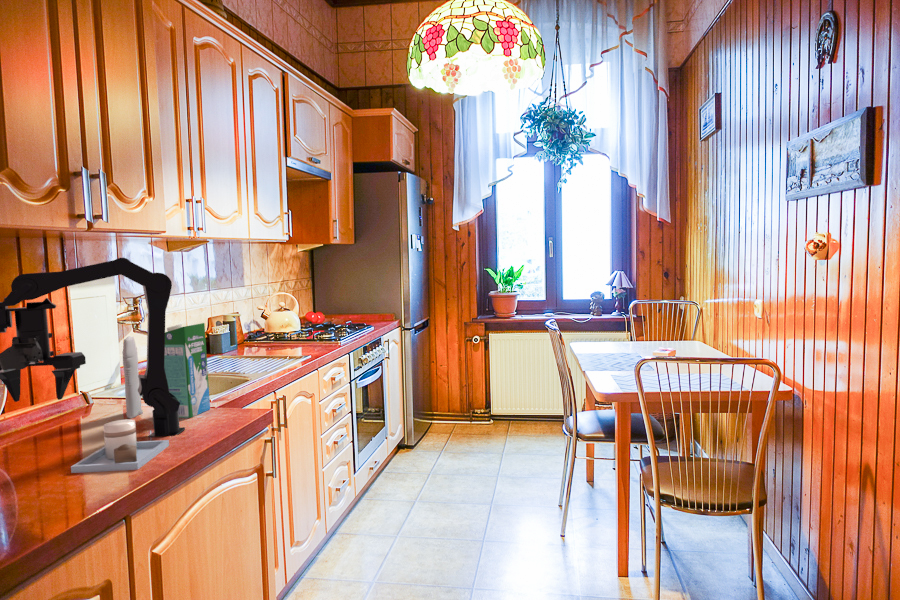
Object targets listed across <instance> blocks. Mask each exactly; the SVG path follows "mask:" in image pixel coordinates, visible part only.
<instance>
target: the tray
mask: <svg viewBox="0 0 900 600" xmlns="http://www.w3.org/2000/svg"><path fill="white" fill-rule="evenodd" d="M169 446H170V441H169V439H163V440H160V439H159V440H141V441H137V454H136V456H137V461H136V462H124V463H115V460H114V459H107V458H106V453H105V445H104V446H102V447H101V448H99V449H97V450H95V451H94V452H93V453H91V454H89V455H87V456H86V457H84V458H82V459H80V460H79V461H78V462H76V463H75V464H73V465H71V466H70V471H71V474H81V473H84V474H85V473H97V472H98V473H100V472H117V471H135V470H136V471H137V470H140V469H141V468H142V467H143V466H145V465H146V464H147V463H149V462H150V461H151V460H152V459H154V458H155V457H157V456H158V455H159V454H160V453H161V452H163V451H164V450H166V449H167V448H168V447H169Z"/></svg>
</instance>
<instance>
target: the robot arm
mask: <svg viewBox="0 0 900 600" xmlns="http://www.w3.org/2000/svg"><path fill="white" fill-rule="evenodd" d="M115 276H123V277H125V278H127V279H129V280H130V281H132V282H135V283H136V284H138V285H141V286H142V288H143V295H144V299H145V303H146V308H147V309H146V310H147V331H146V333H147V335H146V339H147V340H146V342H147V343H146V367H145V372H144V374H139V375H138V378H139V388H138V393H139V395H140V396H141V399H142V400H143V402H144V404H146V405H147V406H149V407H150V408H153V409H152V411H151V412H152V424H153V425H152V427H153V432H152V433H150V434H148V436H147V437H148V438H157V437H158V438H159V437H174V436H175V437H176V436H178V435H180V434H181V433H182V432H185V430H186V427H183V426H182V427H181V426H180V418H179V413H178V409H179V406H180V402H179V401H178V399H177V398H176V397H175V396H174V395H173V394H171V393H170V392H169V387H168V382H167V377H166V373H165V368H164V360H165V332H166V311H167V308H168V305H169V302H170V301H169V300H170V296H171V293H172V292H171V291H172V285H173V283H172V279H171V278H170V277H169V276H168V275H167V274H165V273H162V272H152V271H150V270H147V269H146V268H144V267H142V266H140V265H138V264H136V263H135V262H132V261H131V260H130V259H128V258H127V257H119V258H116V259H113V260H109V261H104V262H98V263H94V264H91V265H86V266H80V267H75V268H71V269H67V270H61V271H48V272H47V271H46V272H31V273H21V274H19V275H17V276H16V277H14V279H13V280H12V282H11V284H10V288H11V291H10V292H9V293H8V295H7V296H6V297H4V299H3V301H0V334H4V333H7V331H8V330H7V329H8V328H12V327H13V317H12V316H13V314H12V312H14V321H15V332H16V336H13V337H12V339H11V346H8V347H6V348H5V349H4V350H3V351H2V352H0V380H1V382H2V383H3V385H4V386H5V387H6V389H7V392H8V393H9V394H10V397H11V398H12V400H13V401H14V402H15V403H17V402H20V399H21V379H22V378H21V370H24V369H26V368H28V367H41V366H42V367H43V366H44V367H45V366H52V367H53V368H54V370H51V373H52V374H53V376H54V378H55V388H56V389H55V390H56V393H55V394H56V398H57V400H58V401H59V400H63V398H64V396H65V393H66V390H67V388H68V385H69V383H70V381H71V379H72V378H73V376H74V373H75V372H76V370H77V369H80V368H81V366H84V365H85V364H87V363H86V356H85V354H84V353H83V352H82V351H77V352H75V351H72V352H64V353H60V354H56V355H55V351H54V350H51V347H50V346H51V345H50V339H51V338H53V332H49V326H48V325H49V324H48V314H47V313H48V310H51V309H52V310H54V309H56V308H57V305H56V304H55V303H53V302H52V301H51V300H50V299H49V298H48V297H45V299H44V300H43V301H35V302H34V301H33V302H31V301H32V300H36V299H38V298H40V297H43V296H45V295H48V294H51V293H53V292H56V291H58V290H60V289H63V288H65V287H71V286H74V285H79V284H84V283H89V282H94V281H97V280H102V279H107V278H111V277H115ZM23 301H30V302H26V306H25V307H13V306H16V305H18V304H19V303H21V302H23ZM10 307H11V308H10Z"/></svg>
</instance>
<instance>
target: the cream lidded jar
mask: <svg viewBox="0 0 900 600" xmlns="http://www.w3.org/2000/svg"><path fill="white" fill-rule="evenodd" d="M136 426H137V425H136V420H135V419H132V418H130V419H128V418H127V419H126V418H125V419H117V420H112V421H109V422H107V423H104V424H103V438H104V439H103V440H104V446H105V453H106V458H107V459H114V449H116V448H118V447H120V446H121V445H124V444H129V445H134V446H136V454H137V442H138V441H137V427H136Z"/></svg>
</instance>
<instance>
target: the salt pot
mask: <svg viewBox="0 0 900 600" xmlns="http://www.w3.org/2000/svg"><path fill="white" fill-rule="evenodd" d="M114 460H115V463H124V462H136V461H137V456H136V446H134V445H129V444H124V445H121V446H120V447H118V448H116V449H114Z"/></svg>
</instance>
